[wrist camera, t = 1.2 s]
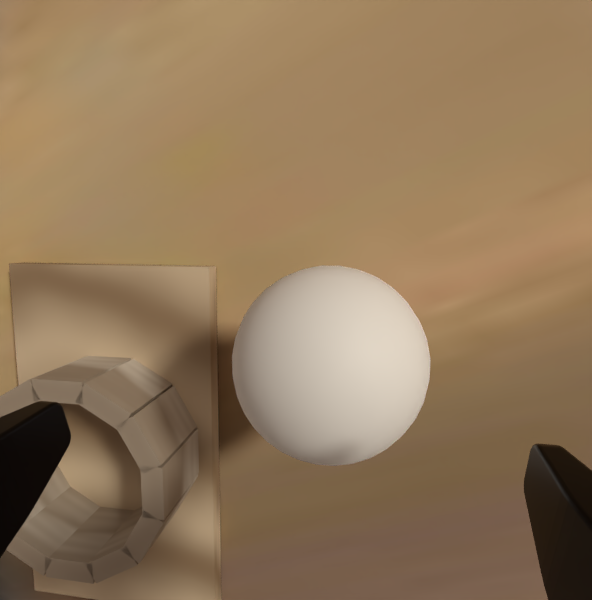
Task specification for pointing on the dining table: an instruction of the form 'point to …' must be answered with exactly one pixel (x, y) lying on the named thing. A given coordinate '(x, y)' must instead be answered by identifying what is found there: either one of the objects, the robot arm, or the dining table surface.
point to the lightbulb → (331, 365)
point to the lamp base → (96, 446)
